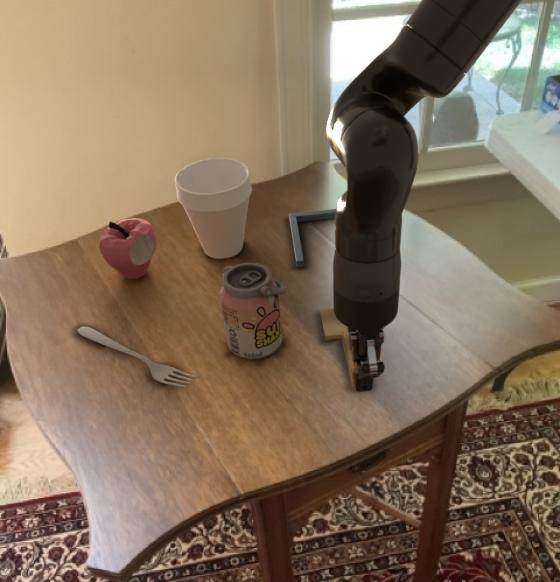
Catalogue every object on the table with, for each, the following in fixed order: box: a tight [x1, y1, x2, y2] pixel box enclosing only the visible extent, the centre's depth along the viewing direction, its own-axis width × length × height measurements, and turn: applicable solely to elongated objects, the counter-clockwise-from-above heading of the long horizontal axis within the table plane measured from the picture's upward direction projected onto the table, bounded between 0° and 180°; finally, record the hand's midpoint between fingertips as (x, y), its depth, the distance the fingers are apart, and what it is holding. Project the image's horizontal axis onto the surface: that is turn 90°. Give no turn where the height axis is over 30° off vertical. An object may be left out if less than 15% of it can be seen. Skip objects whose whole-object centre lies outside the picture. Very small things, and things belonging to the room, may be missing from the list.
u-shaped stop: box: [288, 208, 336, 268], centre depth 114 cm, size 15×12×1 cm
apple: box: [98, 217, 158, 280], centre depth 108 cm, size 10×9×10 cm
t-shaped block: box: [320, 308, 355, 388], centre depth 93 cm, size 16×7×3 cm, turn 5°
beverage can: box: [218, 262, 287, 361], centre depth 92 cm, size 9×8×12 cm
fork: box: [77, 326, 199, 388], centre depth 95 cm, size 3×24×2 cm, turn 53°
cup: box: [174, 157, 253, 260], centre depth 110 cm, size 12×12×14 cm
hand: (363, 387), depth 86 cm, fingers closed
